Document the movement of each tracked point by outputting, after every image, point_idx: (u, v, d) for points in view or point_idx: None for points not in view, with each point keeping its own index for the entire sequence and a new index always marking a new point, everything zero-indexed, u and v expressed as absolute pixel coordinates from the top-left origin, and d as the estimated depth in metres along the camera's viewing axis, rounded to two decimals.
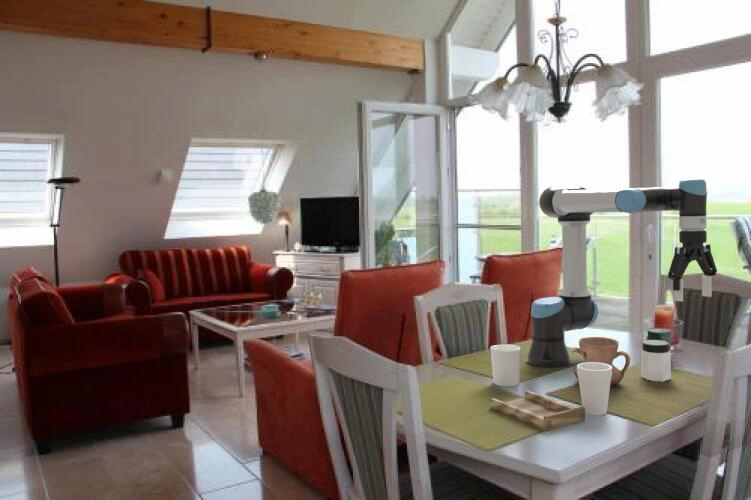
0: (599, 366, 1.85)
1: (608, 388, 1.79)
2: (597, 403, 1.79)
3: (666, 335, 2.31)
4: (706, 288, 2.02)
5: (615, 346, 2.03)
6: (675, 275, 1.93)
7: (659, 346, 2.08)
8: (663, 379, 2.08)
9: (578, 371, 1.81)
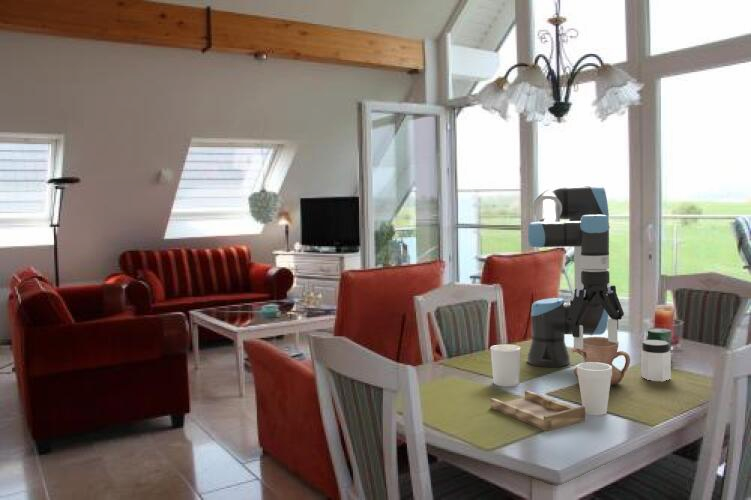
0: (599, 366, 1.85)
1: (608, 388, 1.79)
2: (597, 403, 1.79)
3: (666, 335, 2.31)
4: (612, 333, 1.84)
5: (615, 346, 2.03)
6: (573, 321, 1.75)
7: (659, 346, 2.08)
8: (663, 379, 2.08)
9: (578, 371, 1.81)
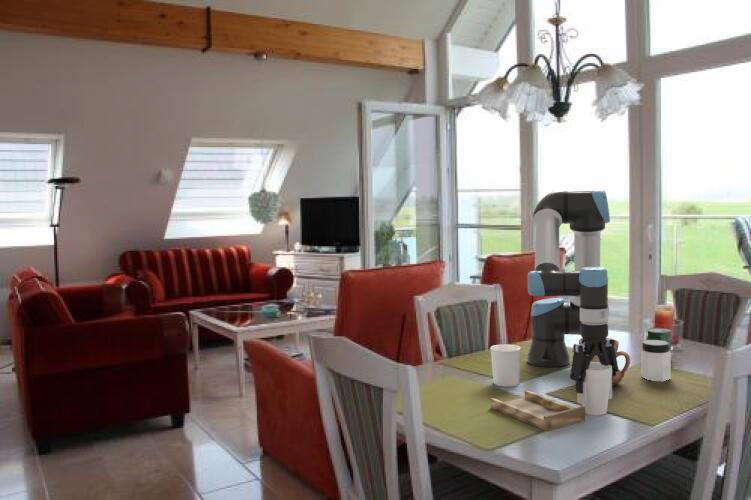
0: (599, 366, 1.85)
1: (608, 388, 1.79)
2: (597, 403, 1.79)
3: (666, 335, 2.31)
4: None
5: (615, 346, 2.03)
6: (577, 378, 1.77)
7: (659, 346, 2.08)
8: (663, 379, 2.08)
9: None
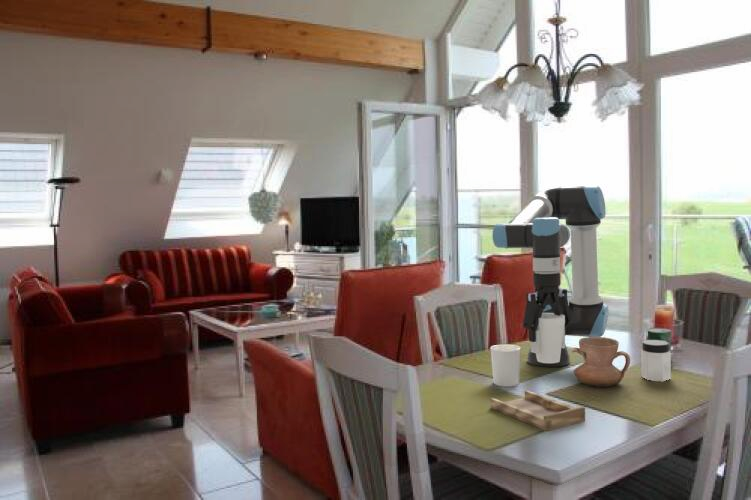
0: (553, 316, 1.87)
1: (561, 336, 1.81)
2: (550, 351, 1.81)
3: (666, 335, 2.31)
4: None
5: (615, 346, 2.03)
6: (529, 326, 1.79)
7: (659, 346, 2.08)
8: (663, 379, 2.08)
9: None
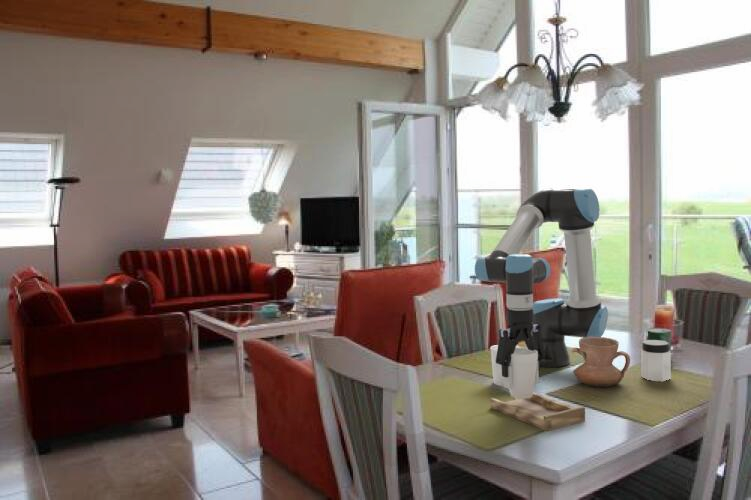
0: (526, 351, 1.89)
1: (533, 372, 1.84)
2: (522, 387, 1.83)
3: (666, 335, 2.31)
4: None
5: (615, 346, 2.03)
6: (501, 362, 1.81)
7: (659, 346, 2.08)
8: (663, 379, 2.08)
9: None
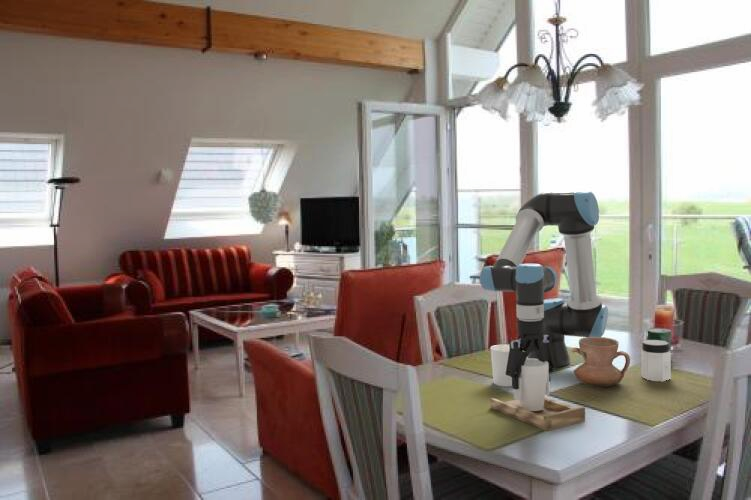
0: (537, 362, 1.86)
1: (544, 384, 1.80)
2: (533, 399, 1.80)
3: (666, 335, 2.31)
4: None
5: (615, 346, 2.03)
6: (512, 374, 1.78)
7: (659, 346, 2.08)
8: (663, 379, 2.08)
9: None
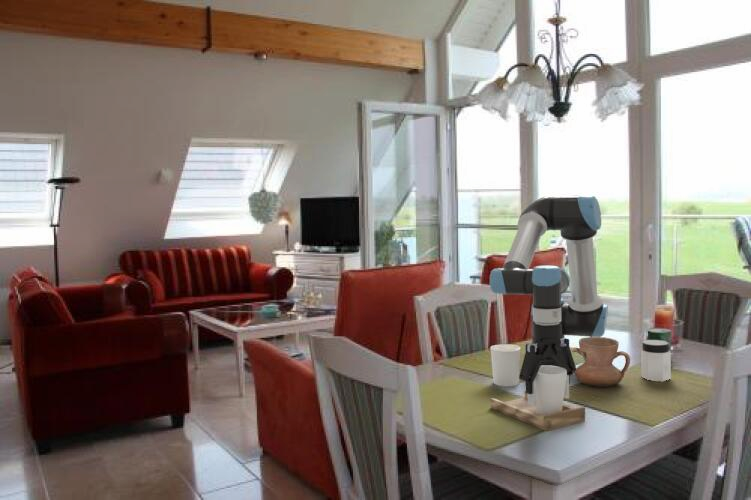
0: (554, 369, 1.80)
1: (562, 392, 1.74)
2: (550, 408, 1.74)
3: (666, 335, 2.31)
4: None
5: (615, 346, 2.03)
6: (526, 378, 1.71)
7: (659, 346, 2.08)
8: (663, 379, 2.08)
9: None
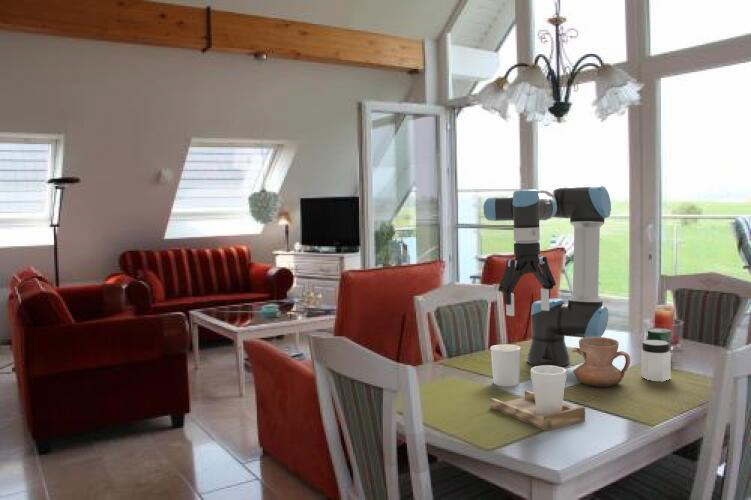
0: (554, 369, 1.80)
1: (562, 392, 1.74)
2: (550, 408, 1.74)
3: (666, 335, 2.31)
4: (544, 302, 1.95)
5: (615, 346, 2.03)
6: (504, 289, 1.86)
7: (659, 346, 2.08)
8: (663, 379, 2.08)
9: (531, 375, 1.77)
